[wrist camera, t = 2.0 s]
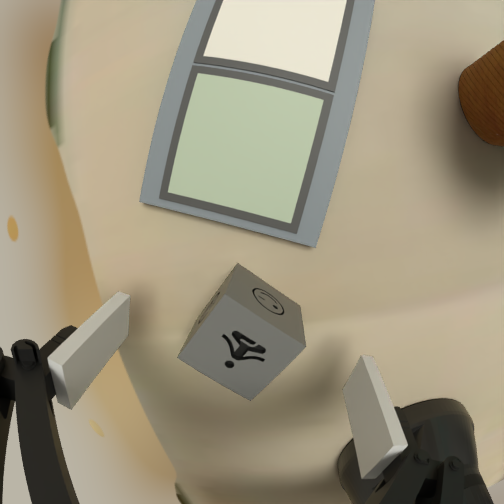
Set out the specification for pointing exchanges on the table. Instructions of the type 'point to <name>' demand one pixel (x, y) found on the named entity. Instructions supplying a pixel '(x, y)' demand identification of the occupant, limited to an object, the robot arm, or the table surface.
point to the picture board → (259, 113)
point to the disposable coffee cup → (485, 95)
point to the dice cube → (245, 334)
